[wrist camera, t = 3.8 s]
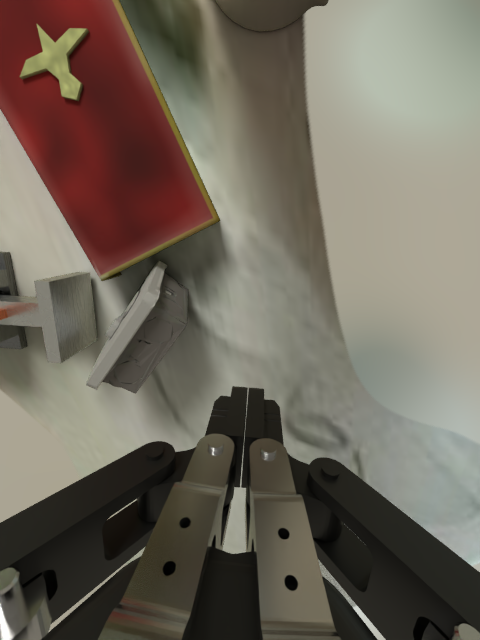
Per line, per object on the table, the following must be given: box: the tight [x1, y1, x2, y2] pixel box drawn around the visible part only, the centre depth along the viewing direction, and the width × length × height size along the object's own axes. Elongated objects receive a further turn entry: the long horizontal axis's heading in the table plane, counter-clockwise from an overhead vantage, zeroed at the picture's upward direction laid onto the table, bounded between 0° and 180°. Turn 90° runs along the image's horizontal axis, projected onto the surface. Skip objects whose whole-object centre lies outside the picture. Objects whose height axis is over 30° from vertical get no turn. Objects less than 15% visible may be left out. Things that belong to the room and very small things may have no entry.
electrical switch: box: [86, 261, 188, 394], centre depth 25 cm, size 9×5×9 cm, turn 143°
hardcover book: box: [0, 0, 220, 281], centre depth 23 cm, size 12×21×4 cm, turn 25°
